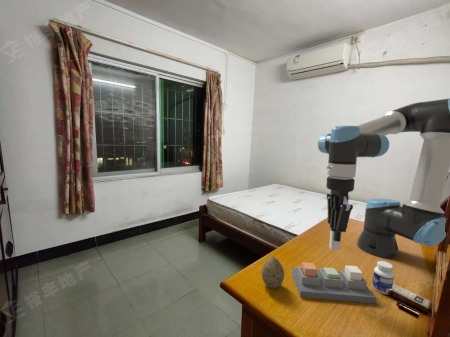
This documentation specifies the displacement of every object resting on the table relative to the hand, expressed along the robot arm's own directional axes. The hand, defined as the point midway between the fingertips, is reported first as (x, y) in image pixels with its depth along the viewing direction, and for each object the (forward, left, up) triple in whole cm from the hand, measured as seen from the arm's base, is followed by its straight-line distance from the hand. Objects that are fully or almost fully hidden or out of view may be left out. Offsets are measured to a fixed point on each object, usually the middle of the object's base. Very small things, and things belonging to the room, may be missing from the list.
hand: (334, 248), depth 68 cm
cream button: (-7, 0, -9) cm, 11 cm away
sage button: (0, 0, -11) cm, 11 cm away
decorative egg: (+19, +2, -14) cm, 24 cm away
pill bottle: (-17, -1, -14) cm, 21 cm away
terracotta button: (+7, 0, -9) cm, 12 cm away
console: (0, 0, -13) cm, 13 cm away
